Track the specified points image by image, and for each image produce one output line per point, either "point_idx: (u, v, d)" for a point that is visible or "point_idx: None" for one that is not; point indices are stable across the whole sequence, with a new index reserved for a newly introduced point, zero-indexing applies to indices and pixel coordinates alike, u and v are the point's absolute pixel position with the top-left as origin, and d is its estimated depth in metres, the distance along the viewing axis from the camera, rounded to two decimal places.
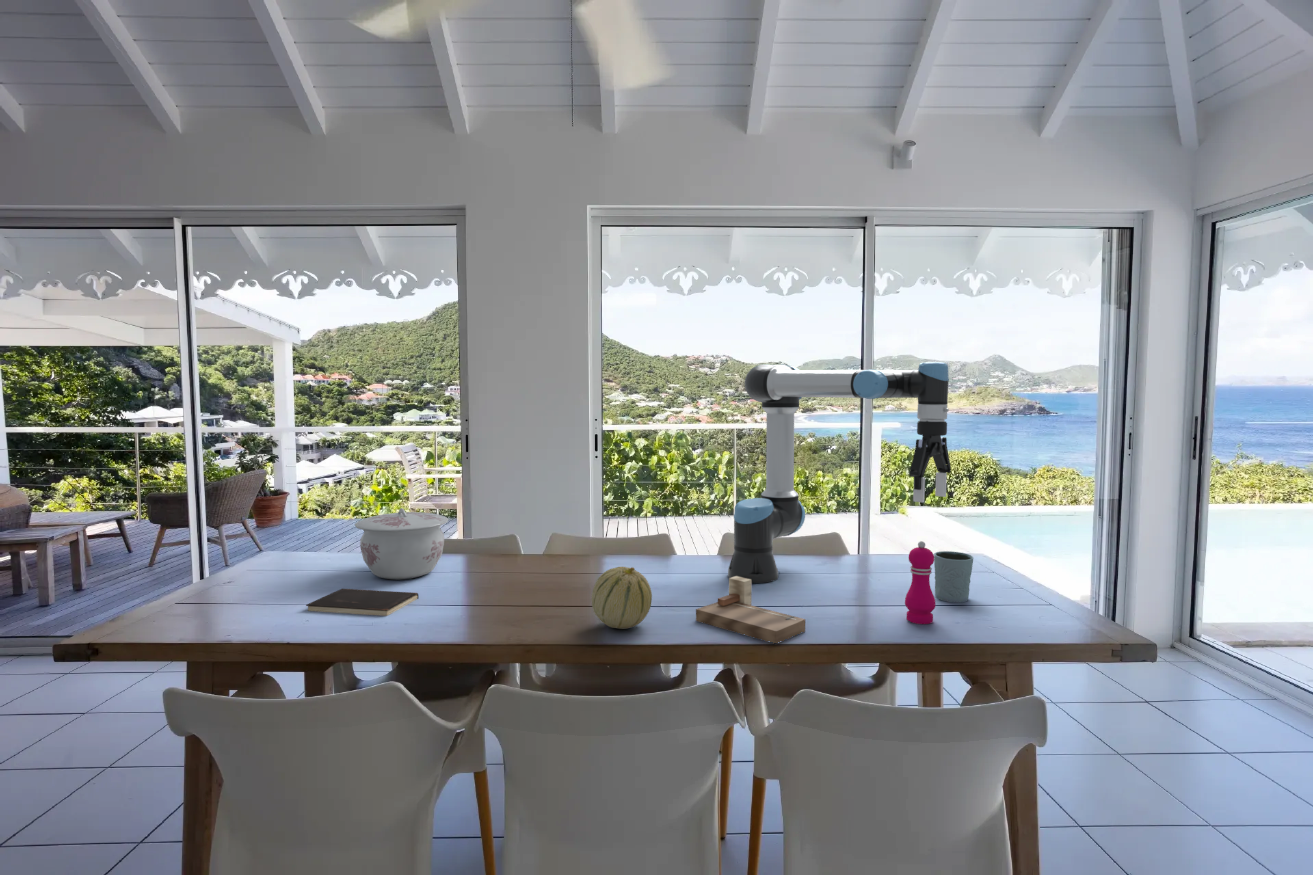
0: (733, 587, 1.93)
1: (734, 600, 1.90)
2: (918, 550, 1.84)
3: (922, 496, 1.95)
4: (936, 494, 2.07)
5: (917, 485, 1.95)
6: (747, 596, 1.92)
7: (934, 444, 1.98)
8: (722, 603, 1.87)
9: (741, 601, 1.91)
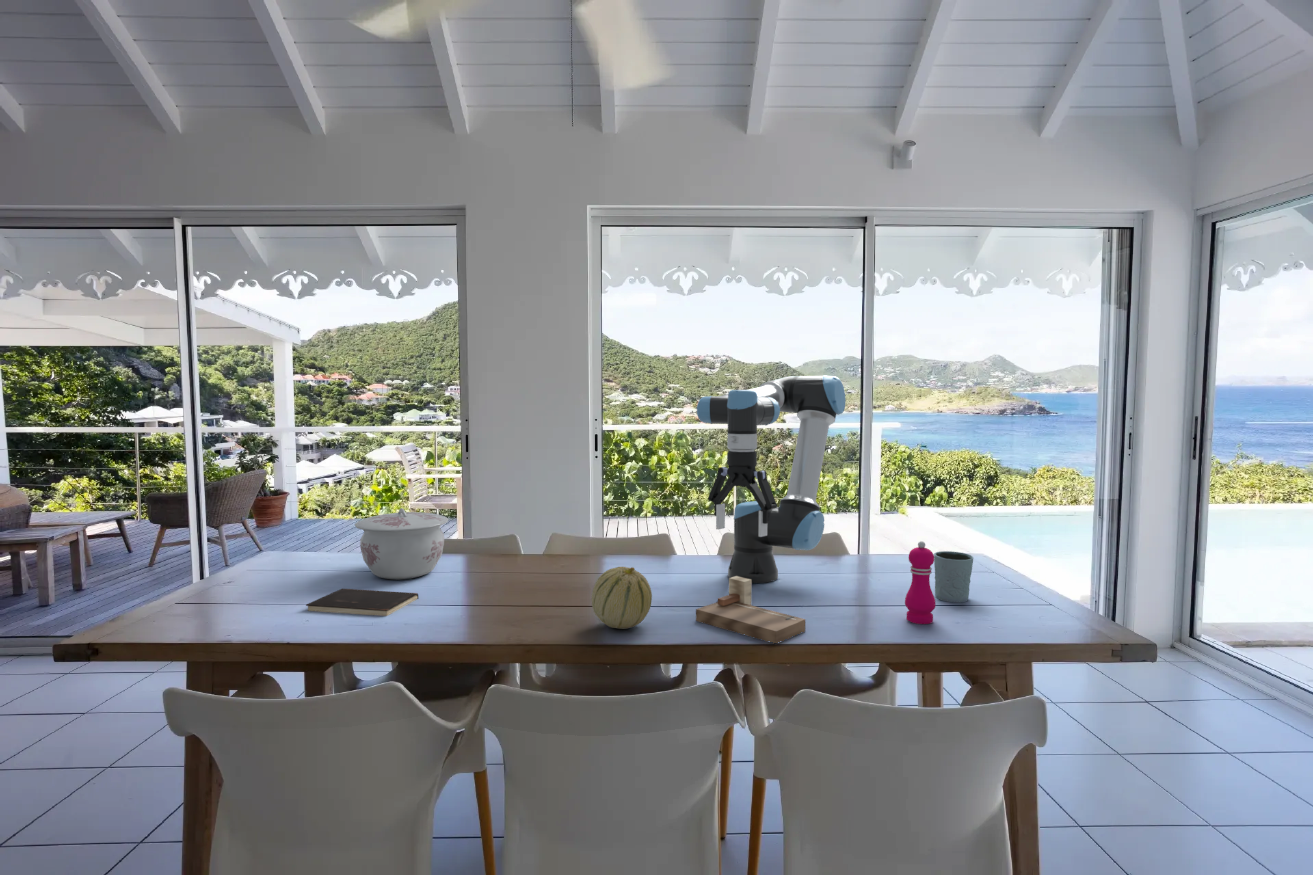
0: (733, 587, 1.93)
1: (734, 600, 1.90)
2: (918, 550, 1.84)
3: None
4: None
5: None
6: (747, 596, 1.92)
7: None
8: (722, 603, 1.87)
9: (741, 601, 1.91)
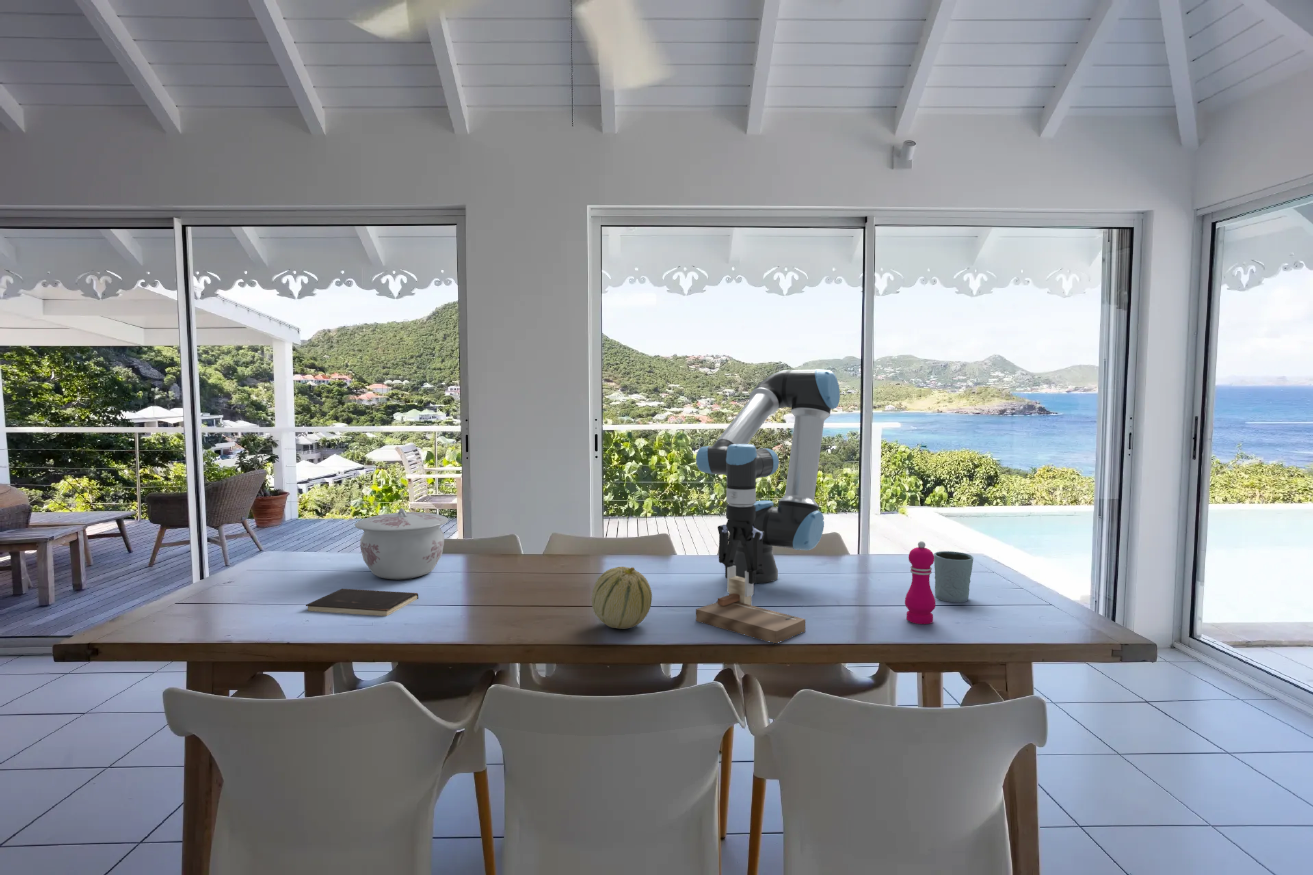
0: (733, 587, 1.93)
1: (734, 600, 1.90)
2: (918, 550, 1.84)
3: None
4: None
5: None
6: None
7: None
8: (722, 603, 1.87)
9: (741, 601, 1.91)
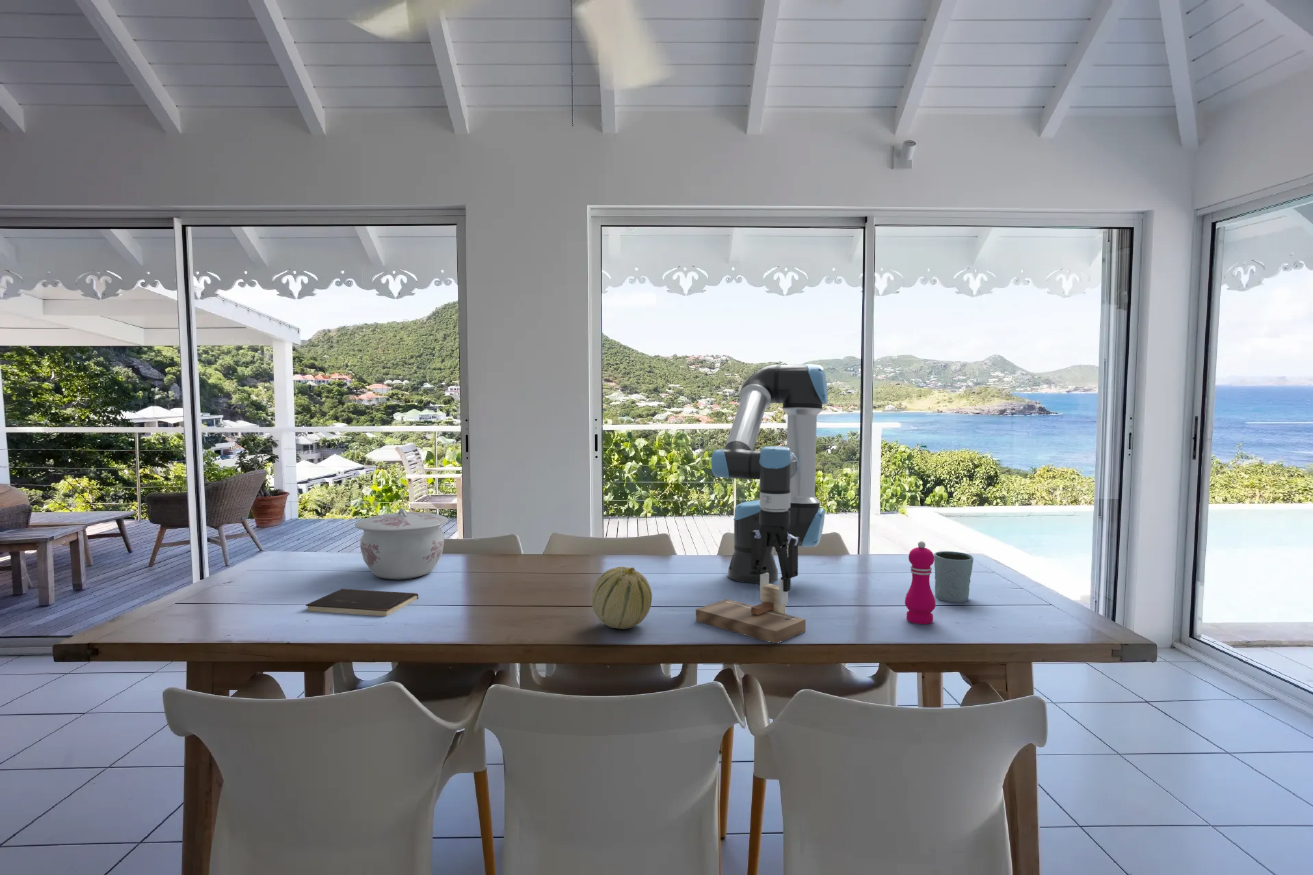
0: (767, 595, 1.86)
1: (768, 609, 1.83)
2: (918, 550, 1.84)
3: None
4: None
5: None
6: None
7: None
8: (756, 612, 1.80)
9: (775, 610, 1.84)
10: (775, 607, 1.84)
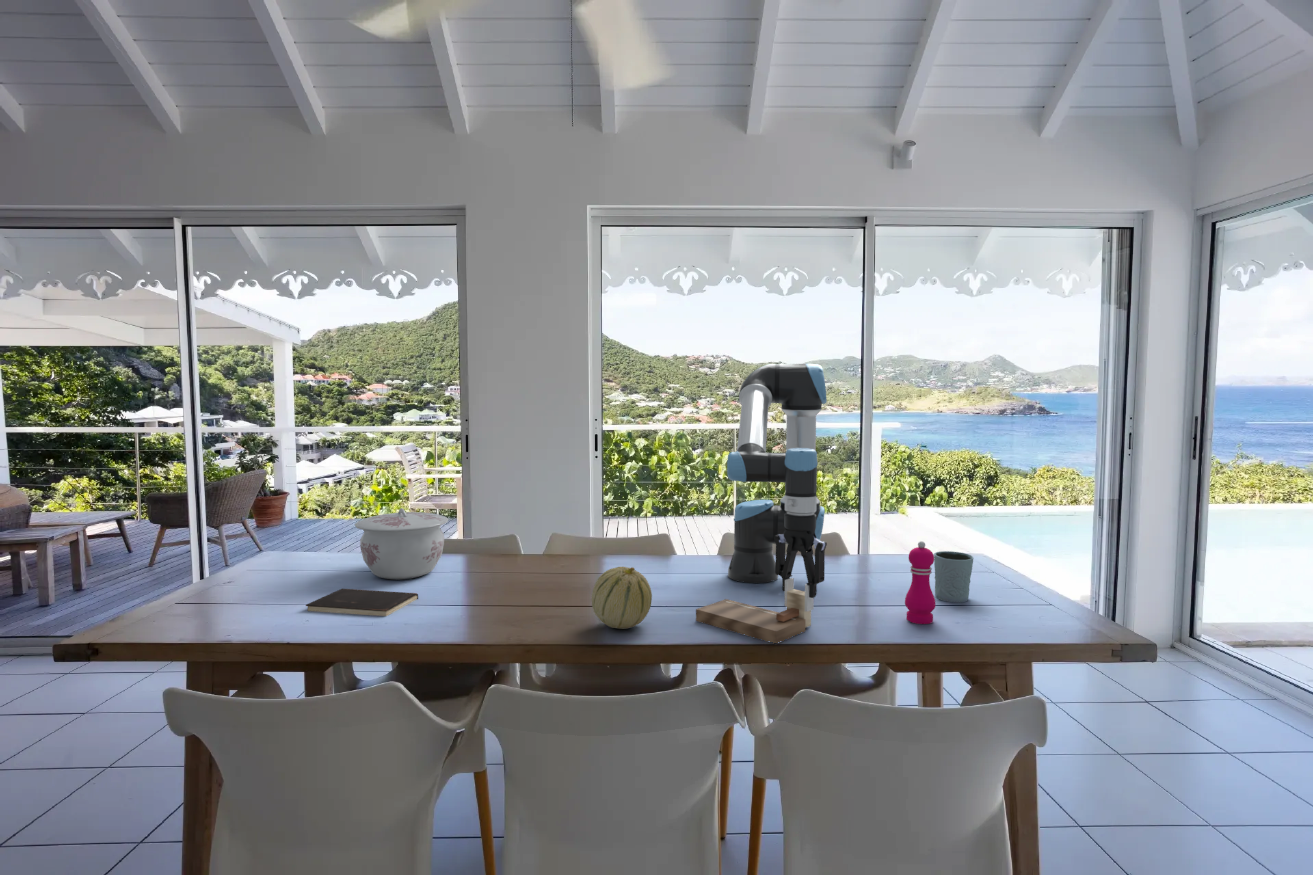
0: (792, 601, 1.81)
1: (793, 615, 1.78)
2: (918, 550, 1.84)
3: None
4: None
5: None
6: None
7: None
8: (782, 619, 1.75)
9: (801, 616, 1.79)
10: (801, 613, 1.79)
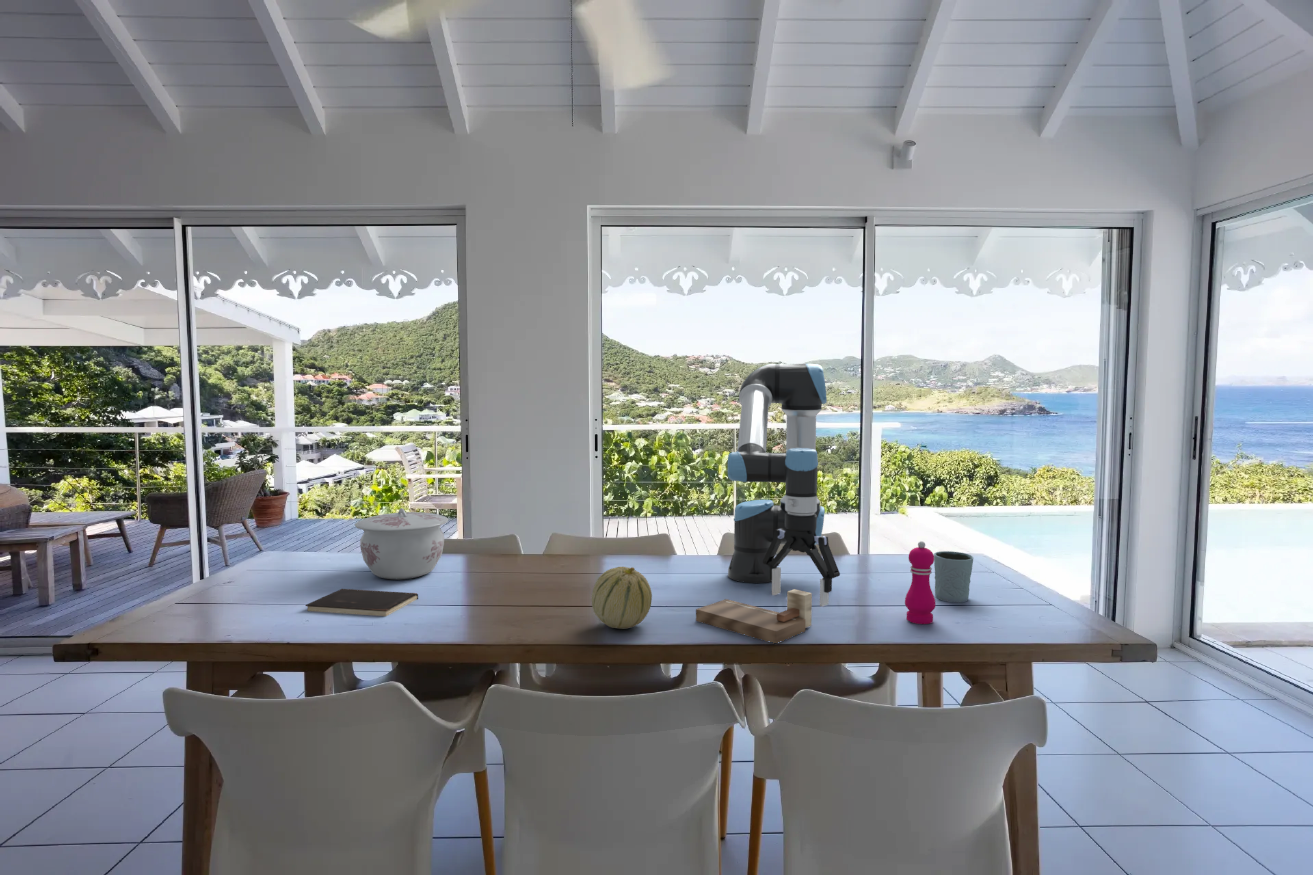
0: (792, 601, 1.81)
1: (794, 615, 1.78)
2: (918, 550, 1.84)
3: None
4: None
5: None
6: (808, 610, 1.79)
7: None
8: (782, 619, 1.75)
9: (801, 616, 1.79)
10: (801, 614, 1.79)
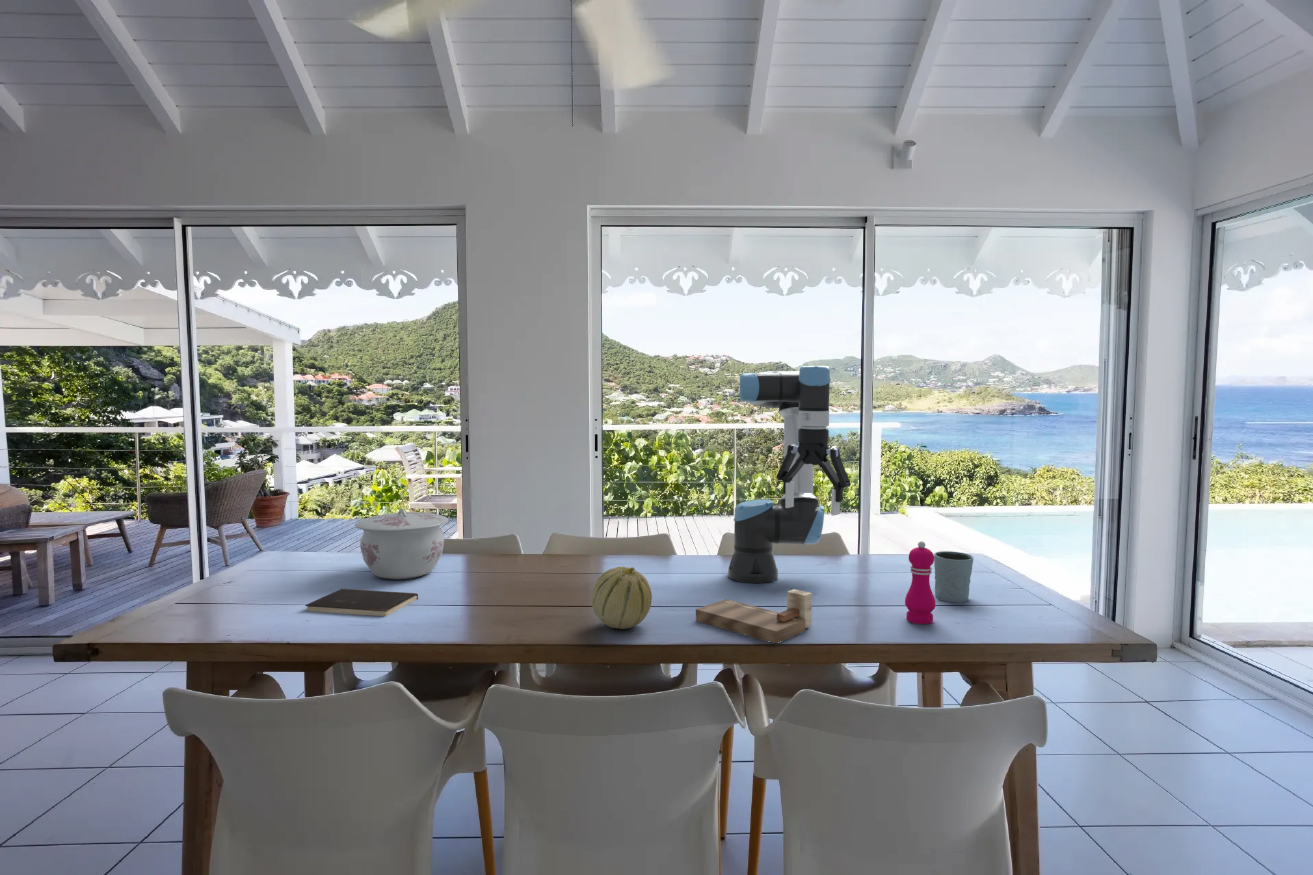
0: (792, 601, 1.81)
1: (794, 615, 1.78)
2: (918, 550, 1.84)
3: None
4: None
5: None
6: (808, 610, 1.79)
7: None
8: (782, 619, 1.75)
9: (801, 616, 1.79)
10: (801, 614, 1.79)
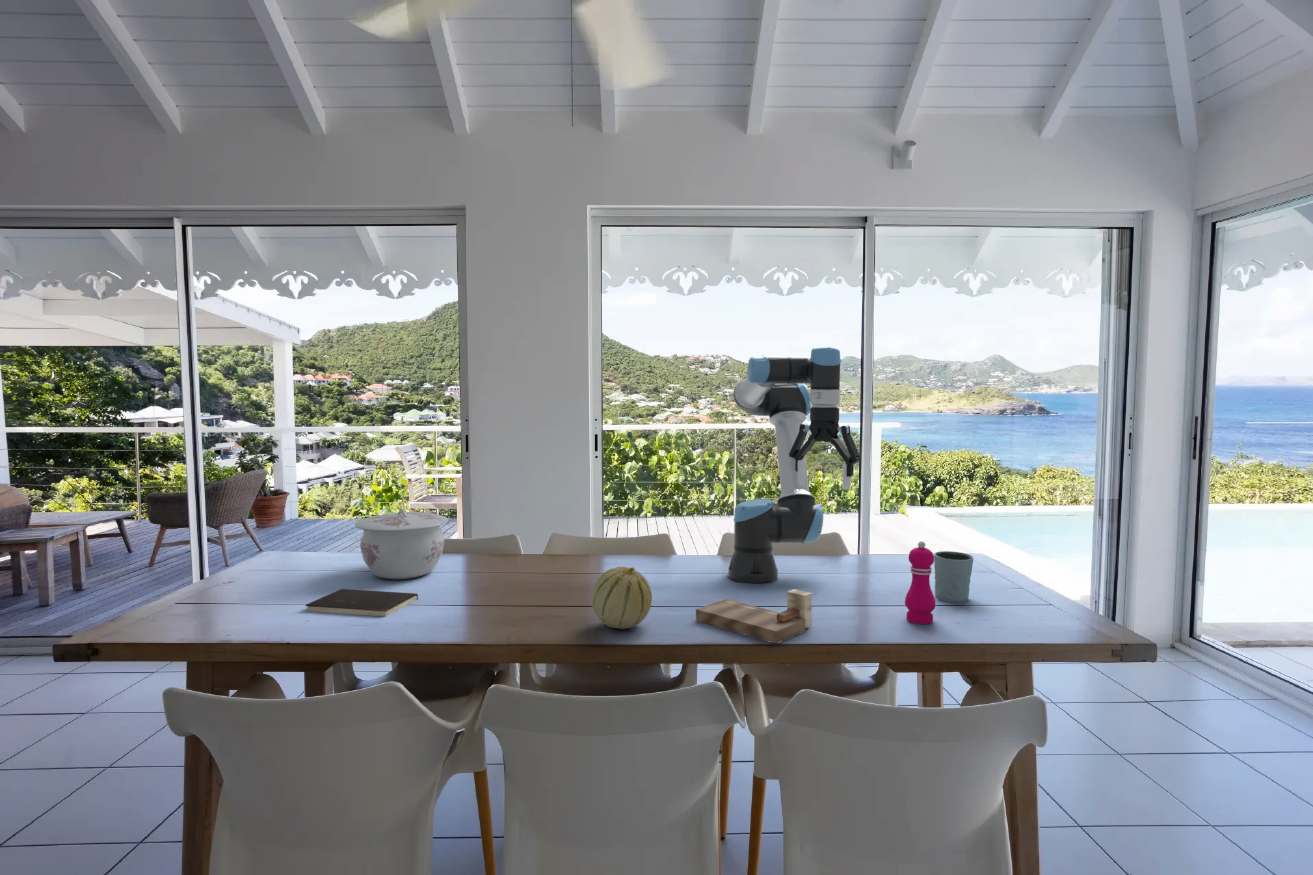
0: (792, 601, 1.81)
1: (794, 615, 1.78)
2: (918, 550, 1.84)
3: None
4: None
5: None
6: (808, 610, 1.79)
7: None
8: (782, 619, 1.75)
9: (801, 616, 1.79)
10: (801, 614, 1.79)
